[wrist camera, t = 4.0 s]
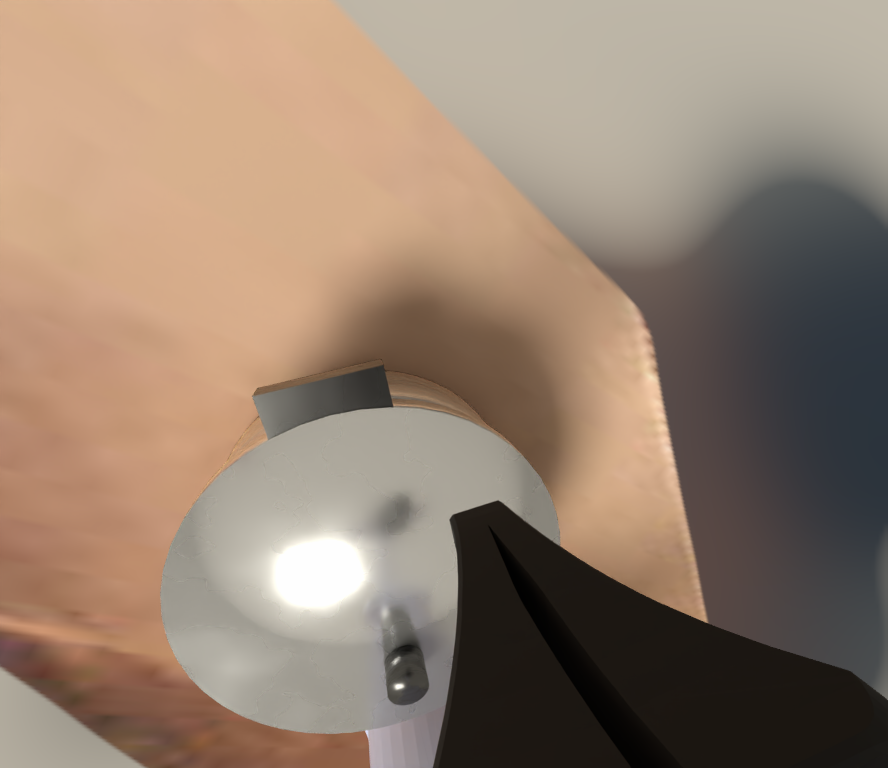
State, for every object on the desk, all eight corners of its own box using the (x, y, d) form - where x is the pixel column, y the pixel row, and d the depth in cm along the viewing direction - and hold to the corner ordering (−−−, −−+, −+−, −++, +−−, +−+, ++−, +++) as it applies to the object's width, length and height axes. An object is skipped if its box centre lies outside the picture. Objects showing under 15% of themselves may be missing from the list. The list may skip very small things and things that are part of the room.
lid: (561, 638, 20) (586, 682, 18) (253, 754, 18) (241, 820, 16) (527, 323, 15) (557, 335, 13) (74, 430, 12) (22, 466, 10)
